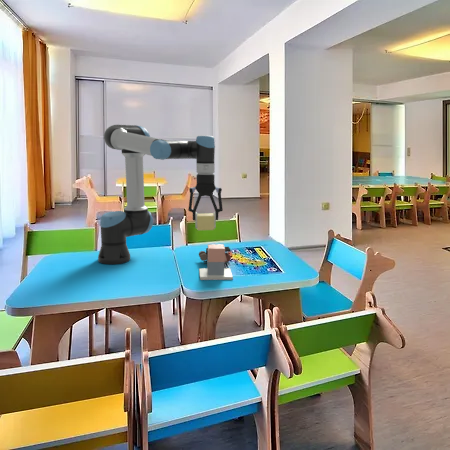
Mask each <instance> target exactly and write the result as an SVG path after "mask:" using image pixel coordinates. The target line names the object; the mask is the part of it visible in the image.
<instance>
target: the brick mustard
mask: <svg viewBox="0 0 450 450" xmlns="http://www.w3.org/2000/svg"><path fill="white" fill-rule="evenodd" d="M196 229H197V230H196V231H215V228H214V212H212V213H209V212H207V213H205V212H204V213H197V228H196Z"/></svg>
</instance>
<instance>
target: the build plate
mask: <svg viewBox="0 0 450 450" xmlns="http://www.w3.org/2000/svg"><path fill="white" fill-rule="evenodd" d="M198 271H199V280H201V281H203V280H204V281H209V280H210V281H214V280H215V281H216V280H217V281H221V280H222V281H223V280H224V281H225V280H228V281H229V280H232V281H233V280H234V279H233V278H234V276H233V273H232V270H231V268H230V267H228V268H225V267H224V275H208V271H207V267H206V268H205V267H203V268H198Z"/></svg>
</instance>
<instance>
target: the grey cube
mask: <svg viewBox="0 0 450 450" xmlns="http://www.w3.org/2000/svg"><path fill="white" fill-rule="evenodd" d="M206 261H207V262H206V263H207V264H206V266H207V267H206V268H207V271H208V275H224V268H225V263H224V262H208V257H207V260H206Z"/></svg>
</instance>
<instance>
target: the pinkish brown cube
mask: <svg viewBox="0 0 450 450" xmlns="http://www.w3.org/2000/svg"><path fill="white" fill-rule="evenodd" d="M225 247H226V246H225V244H224V243H223V244H222V243H221V244H218V243H217V244H215V243H214V244H207V248H208V262H225V253H226V252H225Z"/></svg>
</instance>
